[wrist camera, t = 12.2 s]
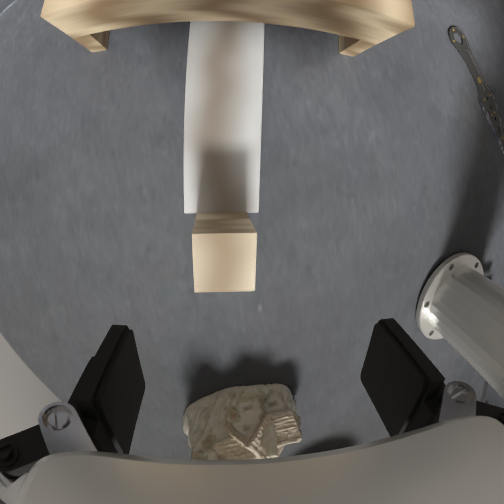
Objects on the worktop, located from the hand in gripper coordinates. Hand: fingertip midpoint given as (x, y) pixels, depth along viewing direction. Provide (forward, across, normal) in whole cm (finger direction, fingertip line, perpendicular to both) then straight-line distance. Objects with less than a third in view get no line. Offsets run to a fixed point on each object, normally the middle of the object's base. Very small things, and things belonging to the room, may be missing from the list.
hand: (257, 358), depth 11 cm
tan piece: (+17, +2, -10) cm, 20 cm away
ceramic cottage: (+18, 0, +27) cm, 32 cm away
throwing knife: (+19, -31, -19) cm, 40 cm away
